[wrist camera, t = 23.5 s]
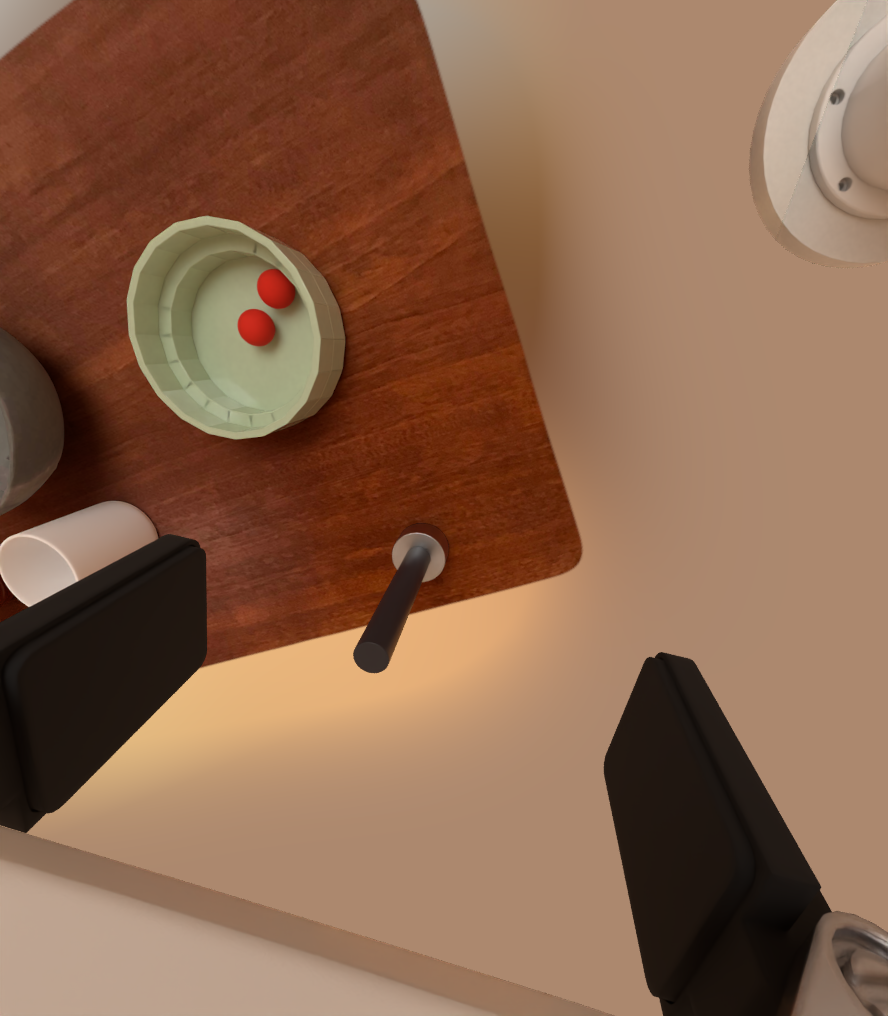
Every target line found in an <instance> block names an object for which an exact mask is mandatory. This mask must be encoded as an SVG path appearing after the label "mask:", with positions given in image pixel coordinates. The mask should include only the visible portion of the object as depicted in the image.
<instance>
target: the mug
mask: <svg viewBox="0 0 888 1016" xmlns="http://www.w3.org/2000/svg"><path fill="white" fill-rule="evenodd" d="M14 597H15V595H14V594H13V593H12V592H11V591H10V590H9V588H8V587H7V585H6V584H5V582H4V581H3V579H2V576H1V574H0V607H1V606H3V605H4V604H6V603H8V602H9V601H10V600H11V599H13V598H14Z"/></svg>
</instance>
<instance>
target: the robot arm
mask: <svg viewBox="0 0 888 1016" xmlns="http://www.w3.org/2000/svg"><path fill="white" fill-rule="evenodd" d="M830 100H832V104H831V102H830ZM809 157H810V166H811V169H812V172H813V175H814V178H815V181H816V183H817V184H818V186H819V188H820V189H821V191H822V193H823V194H824V196H825V197H826V198H828V199H829V200H830V201H831V202H832V203H833V204H834V205H835V206H836V207H838V208H840V209H841V210H843V211H845V212H847V213H849V214H851V215H855V216H859V217H862V218H868V219H888V14H887V15H886V16H885V17H884V18H883V19H881V20H880V21H879V22H878V23H877V24H875V25H874V26H873V27H872V28H871V29H869V30H868V31H867V32H866V33H865V34H864V35H863V36H862V37H861V38H860V39H859V40H858V41H857V42H856V43H855V44H854V45H853V46H852V47H851V48H850V49H849V50H848V52H847V53H846V54H845V56H844V57H843V58H842V59H841V61H840V62H839V63H838V64H837V66H836V67H835V69H834V70H833V72H832V74H831V75H830V77H829V79H828V81H827V82H826V84H825V86H824V88H823V90H822V92H821V95H820V97H819V99H818V102H817V104H816V107H815V110H814V114H813V118H812V122H811V126H810V135H809ZM838 185H840V190H839V188H838ZM206 654H207V602H206V553H205V551H204V550H203V549H201V548H200V545H199V543H198V542H197V541H196V540H193V539H189V538H184V537H180V536H176V535H171V534H167V535H164V536H162V537H160V538H159V539H157V540H155V541H153V542H151V543H149V544H147V545H145V546H143V547H142V548H140V549H138V550H136V551H134V552H132V553H130V554H128V555H126V556H125V557H123V558H121V559H119V560H117V561H115V562H113V563H111V564H110V565H108V566H106V567H104V568H102V569H100V570H98V571H96V572H94V573H93V574H91V575H89V576H87V577H85V578H83V579H81V580H79V581H77V582H76V583H74V584H72V585H70V586H68V587H66V588H64V589H62V590H60V591H59V592H57V593H55V594H53V595H51V596H49V597H47V598H45V599H43V600H42V601H40V602H38V603H36V604H34V605H32V606H30V607H28V608H27V609H25V610H23V611H21V612H19V613H17V614H15V615H13V616H11V617H10V618H8V619H6V620H4V621H2V622H0V825H1V826H0V1016H614V1015H611V1014H608V1013H605V1012H602V1011H599V1010H596V1009H593V1008H590V1007H587V1006H584V1005H581V1004H578V1003H575V1002H572V1001H568V1000H566V999H562V998H559V997H556V996H553V995H550V994H547V993H543V992H540V991H537V990H534V989H530V988H527V987H524V986H521V985H518V984H515V983H511V982H508V981H505V980H502V979H499V978H495V977H492V976H489V975H486V974H483V973H480V972H476V971H473V970H470V969H467V968H464V967H460V966H457V965H454V964H451V963H447V962H444V961H441V960H438V959H434V958H432V957H428V956H425V955H422V954H419V953H416V952H413V951H409V950H406V949H403V948H400V947H397V946H393V945H390V944H387V943H384V942H381V941H377V940H374V939H371V938H368V937H364V936H361V935H358V934H355V933H351V932H348V931H345V930H342V929H338V928H335V927H332V926H329V925H325V924H322V923H319V922H315V921H312V920H309V919H306V918H303V917H299V916H296V915H293V914H289V913H286V912H283V911H279V910H277V909H273V908H270V907H267V906H264V905H260V904H257V903H253V902H251V901H247V900H244V899H240V898H237V897H234V896H231V895H227V894H224V893H221V892H218V891H214V890H211V889H208V888H205V887H201V886H198V885H195V884H192V883H188V882H185V881H182V880H179V879H175V878H172V877H169V876H166V875H162V874H159V873H155V872H152V871H149V870H146V869H142V868H139V867H136V866H132V865H129V864H126V863H122V862H119V861H115V860H112V859H109V858H106V857H102V856H99V855H96V854H92V853H89V852H85V851H82V850H79V849H76V848H72V847H69V846H65V845H62V844H59V843H55V842H52V841H49V840H45V839H42V838H39V837H35V836H32V835H29V834H25V833H27V832H28V831H29V830H30V829H31V828H32V827H33V826H34V825H35V824H36V823H37V822H38V821H39V820H40V819H41V818H42V817H43V816H44V815H45V814H46V813H52V812H54V811H56V810H57V809H59V808H60V807H61V806H63V805H64V804H65V803H66V802H67V801H68V800H69V799H70V798H71V797H72V796H73V795H74V794H75V793H76V792H77V791H78V790H79V789H80V788H81V786H83V785H84V784H85V783H86V782H87V781H88V780H89V779H90V778H91V776H93V775H94V774H95V773H96V772H97V770H98V769H100V767H102V766H103V765H104V764H105V763H106V762H107V761H108V760H109V759H110V758H111V756H112V755H113V754H114V753H115V752H116V751H117V750H118V749H119V748H120V747H121V746H122V745H123V744H124V743H125V742H126V741H127V740H128V739H129V738H130V737H131V736H132V735H133V734H134V733H135V732H136V731H137V730H138V729H139V728H140V727H141V726H142V725H143V724H144V723H145V722H146V721H147V720H148V719H149V718H150V717H151V716H152V715H153V714H154V713H155V712H156V711H157V710H158V709H159V708H160V707H161V706H162V705H163V704H164V703H165V702H166V701H167V700H168V699H169V698H170V697H171V696H172V695H173V694H174V693H175V692H176V691H177V690H178V689H179V688H180V687H181V686H182V685H183V684H184V683H185V682H186V681H187V680H188V679H189V678H190V677H191V676H192V675H193V674H194V673H195V672H196V671H197V670H198V669H199V668H200V667H201V665H202V664H203V662H204V660H205V657H206ZM604 776H605V781H606V785H607V791H608V795H609V801H610V806H611V811H612V816H613V821H614V826H615V830H616V835H617V840H618V845H619V850H620V855H621V860H622V865H623V869H624V875H625V880H626V885H627V889H628V894H629V899H630V904H631V909H632V914H633V919H634V924H635V929H636V934H637V938H638V944H639V948H640V953H641V958H642V963H643V968H644V973H645V978H646V982H647V985H648V988H649V990H650V992H651V993H652V995H653V996H655V997H659V999H660V1003H661V1008H662V1012H663V1016H888V932H886V931H885V930H883V929H882V928H880V927H879V926H877V925H876V924H874V923H872V922H870V921H867V920H865V919H863V918H861V917H859V916H857V915H854V914H849V913H845V912H840V911H835V912H832V911H831V910H830V908H829V906H828V904H827V902H826V901H825V899H824V897H823V895H822V893H821V892H820V888H821V886H820V884H819V882H818V880H817V879H816V877H815V875H814V873H813V871H812V870H811V868H810V866H809V864H808V863H807V861H806V859H805V857H804V856H803V854H802V852H801V850H800V848H799V847H798V845H797V843H796V841H795V839H794V838H793V836H792V834H791V833H790V831H789V829H788V827H787V825H786V824H785V822H784V820H783V818H782V816H781V815H780V813H779V811H778V809H777V808H776V806H775V804H774V802H773V801H772V799H771V797H770V795H769V793H768V792H767V790H766V788H765V786H764V785H763V783H762V781H761V779H760V777H759V776H758V774H757V772H756V771H755V769H754V767H753V765H752V763H751V761H750V760H749V758H748V756H747V754H746V753H745V751H744V749H743V747H742V746H741V744H740V742H739V741H738V739H737V737H736V735H735V733H734V731H733V730H732V728H731V726H730V724H729V722H728V721H727V719H726V717H725V716H724V714H723V712H722V710H721V708H720V707H719V705H718V703H717V701H716V699H715V698H714V696H713V694H712V692H711V691H710V689H709V687H708V686H707V683H706V682H705V680H704V678H703V677H702V675H701V673H700V671H699V669H698V668H697V666H696V664H695V663H694V661H693V660H691V659H688V658H684V657H680V656H675V655H671V654H667V653H663V652H661V653H658V654H657V655H656V656H655V658H652V657H649V658H647V659H646V660H645V662H644V664H643V667H642V669H641V672H640V674H639V676H638V679H637V681H636V684H635V686H634V688H633V691H632V693H631V695H630V698H629V700H628V703H627V705H626V707H625V710H624V713H623V715H622V717H621V720H620V722H619V724H618V727H617V729H616V732H615V734H614V736H613V739H612V741H611V744H610V746H609V748H608V751H607V753H606V756H605V761H604ZM2 826H5V827H8V828H5V827H2ZM9 828H11V829H9ZM12 829H14V830H12ZM15 830H17V831H15ZM19 831H21V832H19ZM22 832H24V833H22Z"/></svg>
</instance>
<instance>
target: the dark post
mask: <svg viewBox="0 0 888 1016" xmlns="http://www.w3.org/2000/svg"><path fill="white" fill-rule="evenodd" d="M448 553H449V544H448V541H447V538H446V537H445V535H444V534H443V533H442V532H441V531H440V530H439V529H438V528H437V527H435V526H433V525H430V524H426V523H417V524H413V525H411V526H409V527H407V528H406V529H405V530H404V531H403V532H402V533H401V535H400V537H399V538H398V540H397V541H396V543H395V545H394V547H393V550H392V559H393V563H394V565H395V567H396V569H397V572H396V574H395V576H394V577H393V579H392V581H391V583H390V585H389V587H388V588H387V590H386V592H385V594H384V596H383V598H382V600H381V601H380V603H379V605H378V607H377V609H376V611H375V612H374V614H373V616H372V618H371V620H370V622H369V624H368V625H367V627H366V629H365V631H364V633H363V635H362V637H361V638H360V640H359V642H358V644H357V646H356V648H355V650H354V653H353V656H354V660H355V662H356V664H357V665H358V666H359V667H360V668H361V669H362V670H364V671H366V672H369V673H379V672H381V671H383V670H385V669H386V668H387V666H388V664H389V662H390V659H391V657H392V654H393V652H394V649H395V647H396V645H397V642H398V639H399V637H400V635H401V632H402V630H403V627H404V625H405V623H406V620H407V618H408V615H409V613H410V610H411V608H412V605H413V603H414V600H415V598H416V596H417V593H418V591H419V588H420V586H421V583H422V582H425V581H429V580H432V579H434V578H436V577H437V576H438V575H439V574H440V573H441V572H442V570H443V568H444V565H445V562H446V559H447V556H448Z"/></svg>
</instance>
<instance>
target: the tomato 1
mask: <svg viewBox="0 0 888 1016" xmlns="http://www.w3.org/2000/svg"><path fill="white" fill-rule="evenodd" d="M237 326H238V331H239V334H240V336H241V337H242V338H243V339H244V340H245V341H246V342H247V343H249V344H251V345H253V346H265V345H267V344H269V343H270V342H271V341H272V339H273V338H274V335H275V325H274V322H273V320H272V319H271V317H270V316H269V315H268V314H267V313H265V312H264V311H262V310H259V309H249V310H246V311H244V312H243V313H242V314H241V315H240V317H239V319H238V325H237Z"/></svg>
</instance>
